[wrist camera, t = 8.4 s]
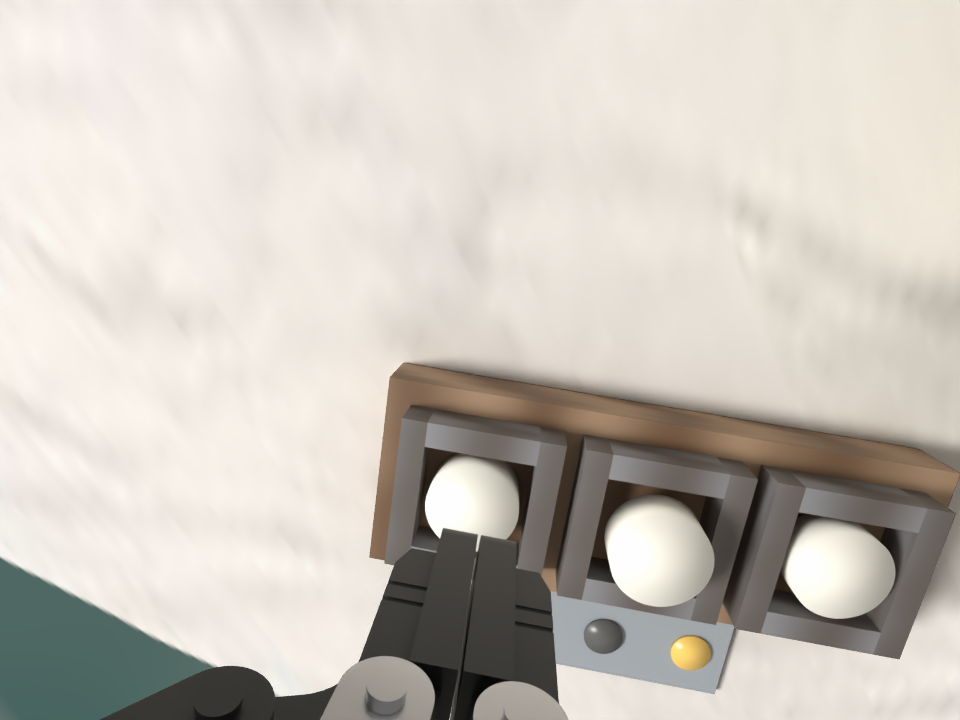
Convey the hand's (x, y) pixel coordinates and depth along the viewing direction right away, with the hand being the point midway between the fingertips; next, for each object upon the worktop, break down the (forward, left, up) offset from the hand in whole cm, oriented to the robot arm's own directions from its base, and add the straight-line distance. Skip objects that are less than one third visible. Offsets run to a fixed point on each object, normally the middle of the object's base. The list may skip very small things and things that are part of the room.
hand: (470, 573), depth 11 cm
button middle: (+8, -6, -15) cm, 18 cm away
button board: (+8, -6, -19) cm, 22 cm away
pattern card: (+8, -15, -19) cm, 26 cm away
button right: (+16, -6, -16) cm, 24 cm away
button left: (-1, -6, -16) cm, 17 cm away
